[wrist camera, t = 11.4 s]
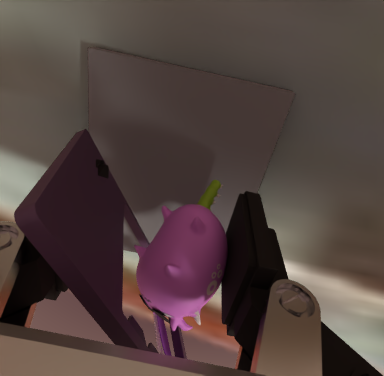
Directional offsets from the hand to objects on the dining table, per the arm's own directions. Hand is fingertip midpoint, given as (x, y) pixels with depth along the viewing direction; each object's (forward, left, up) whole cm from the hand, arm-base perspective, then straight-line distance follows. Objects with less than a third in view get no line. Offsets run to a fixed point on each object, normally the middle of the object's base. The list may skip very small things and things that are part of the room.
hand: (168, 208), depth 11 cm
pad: (0, 0, -3) cm, 3 cm away
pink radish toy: (0, +1, -1) cm, 1 cm away
